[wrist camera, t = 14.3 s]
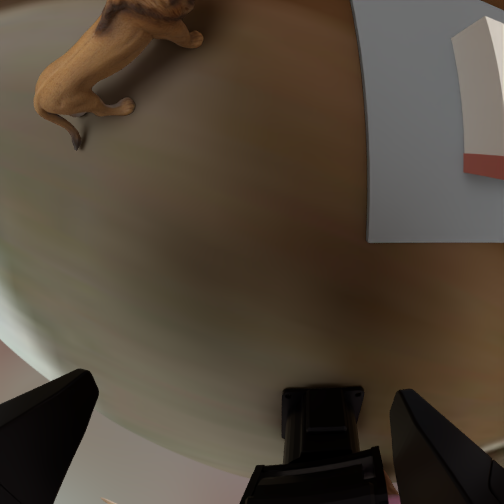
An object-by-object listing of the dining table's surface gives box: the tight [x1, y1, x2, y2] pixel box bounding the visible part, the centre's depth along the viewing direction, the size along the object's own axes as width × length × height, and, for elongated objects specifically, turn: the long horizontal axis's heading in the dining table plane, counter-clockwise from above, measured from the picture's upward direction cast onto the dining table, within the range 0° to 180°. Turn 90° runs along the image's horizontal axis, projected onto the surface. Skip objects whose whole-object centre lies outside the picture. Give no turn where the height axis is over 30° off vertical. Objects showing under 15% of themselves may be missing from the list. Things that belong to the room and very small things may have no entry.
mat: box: [350, 0, 504, 243], centre depth 13 cm, size 18×18×1 cm
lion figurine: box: [34, 0, 203, 151], centre depth 12 cm, size 15×5×9 cm, turn 136°
